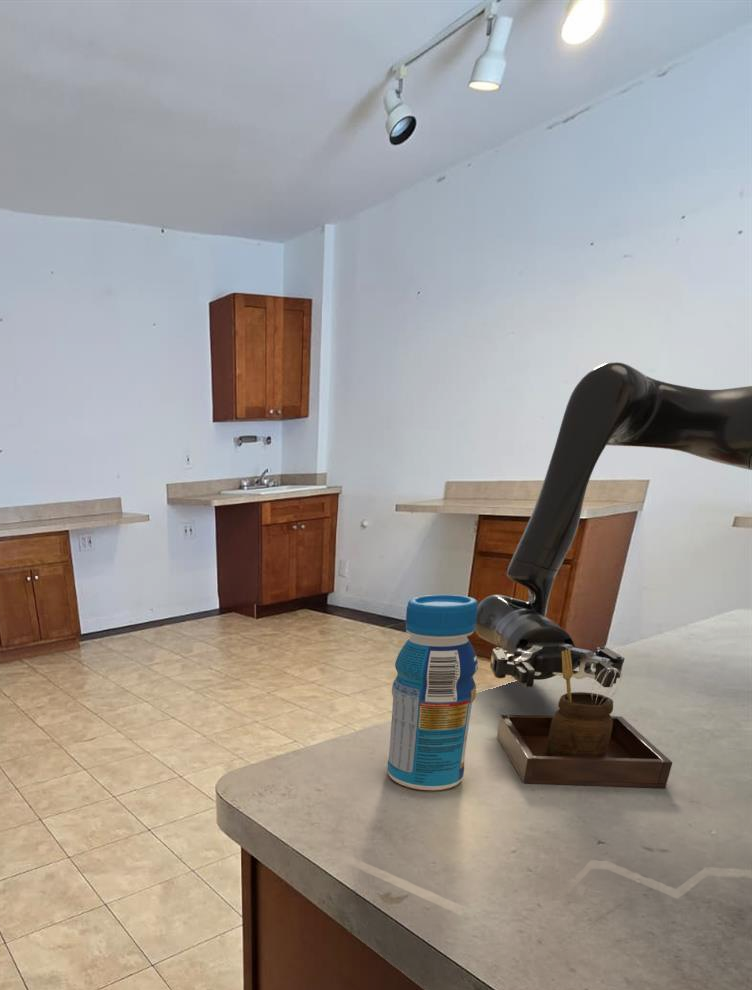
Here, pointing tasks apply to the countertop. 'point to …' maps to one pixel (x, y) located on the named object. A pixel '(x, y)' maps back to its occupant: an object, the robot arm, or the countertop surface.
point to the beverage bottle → (433, 693)
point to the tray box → (622, 765)
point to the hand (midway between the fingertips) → (570, 679)
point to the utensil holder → (581, 720)
